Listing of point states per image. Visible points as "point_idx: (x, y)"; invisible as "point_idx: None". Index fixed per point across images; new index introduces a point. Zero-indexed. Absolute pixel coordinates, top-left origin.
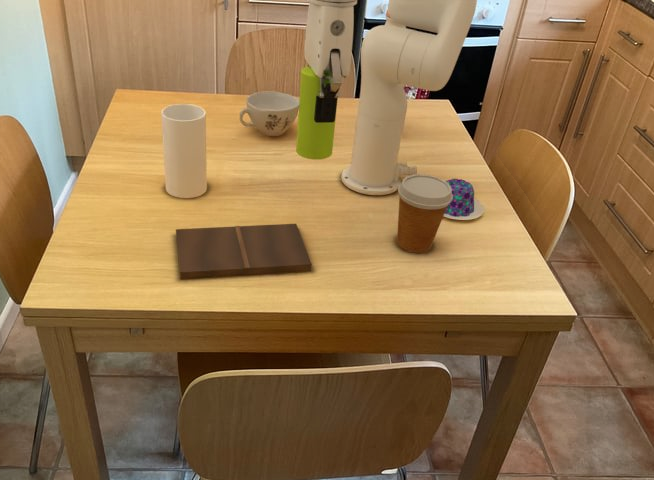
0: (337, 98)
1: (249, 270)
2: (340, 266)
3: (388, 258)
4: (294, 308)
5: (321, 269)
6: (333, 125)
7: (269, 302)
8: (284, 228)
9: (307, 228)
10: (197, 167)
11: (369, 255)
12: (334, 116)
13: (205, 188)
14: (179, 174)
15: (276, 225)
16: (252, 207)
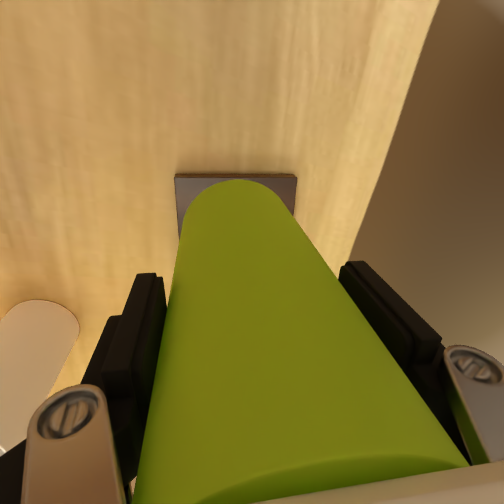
0: (434, 331)
1: None
2: (290, 121)
3: (283, 8)
4: (362, 213)
5: (291, 156)
6: (302, 233)
7: (342, 240)
8: (190, 201)
9: (168, 150)
10: (47, 348)
11: (268, 49)
12: (371, 273)
13: (48, 305)
14: (63, 363)
15: (180, 212)
16: (97, 235)
